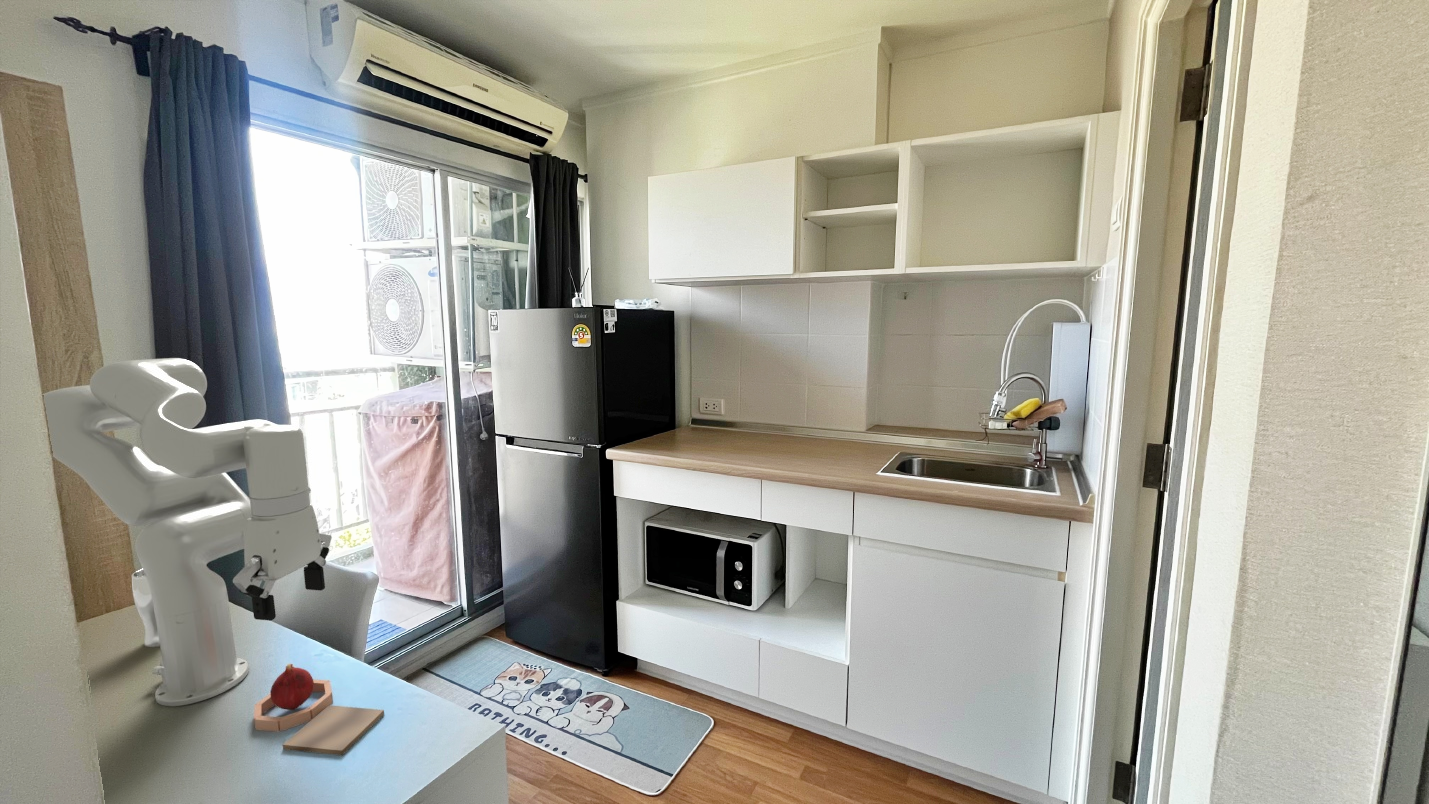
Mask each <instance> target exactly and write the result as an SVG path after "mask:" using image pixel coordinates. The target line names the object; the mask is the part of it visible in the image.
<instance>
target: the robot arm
mask: <svg viewBox="0 0 1429 804" xmlns="http://www.w3.org/2000/svg"><path fill="white" fill-rule="evenodd" d="M207 388H208V381H207V376H206V374H205V373H204V371H203V369H202V368H200V366H198V365H197V364H196V363H194V362H192V361H191V360H187V359H185V358H181V357H169V358H167V357H166V358H165V357H164V358H149V359H133V360H132V359H131V360H130V359H129V360H121V361H115V362H111V363H108V364H106V365H103V366H102V367H100V368H98V369H97V370H96V371H95V372H94V373H93V374H92V376H91V377H90V380H89V384H86V385H76V386H71V387H64V388H58V389H55V390H51V391H48V392H45V393H43V394H42V395H44V403H45V407H46V414H47V420H48V427H49V434H50V441H51V445H52V451H53V456H52V457H53V458H54V459H56V460H57V461H58V462H59V463H62V464H63V465H65V466H66V467H67V468H69V469H70V470H72V471H73V472H75V473H76V474H78V475H79V476H80V477H81V478H82V479H83V480H84V481H85V482H86V484H87V485H88V486H89V487H90V488H91V490H92V491H94V493H95V494H96V495H97V496H98V497H99V498H100V499H101V501H102V502H103V503H104V504H105V505H106V506H107V507H108V508H109V510H110V511H111V512H112V513H113V514H114V515H115V516H116V517H117V518H118V519H119V520H121V521H122V522H123V523H124V524H127V525H129V526H131V527H133V526H134V527H140V526H141V527H142V526H145V527H144V528H143V529H142V530H141V531H139V533H138V535H137V536H136V539H135V543H134V549H135V554H136V555H137V559H138V561H139V563H140V566H141V569H143V570H144V573H145V575H146V578H147V581H148V583H149V587H150V591H151V596H152V601H153V607H154V612H155V618H156V624H157V630H158V636H159V642H160V646H159V647H160V653H161V659H160V661H159V665H157V666H154V667H153V669H152V670H151V674H152V675H157V676H161V678H162V683H161V684H160V685H159V687H157V689H156V690H155V692H154V697H155V701H156V703H157V704H159V705H160V706H161V705H162V706H165V707H166V706H167V707H180V706H186V705H191V704H195V703H199V702H202V701H205V700H208V699H210V698H214V697H215V696H218V695H220V694H223V693H224V692H226V691H228V690H230V689H232V688H233V687H235V686H237V685H238V684H239V683H241V681H243V680H244V679H245V678H246V677H247V675H248V674H249V671H250V665H249V664H250V663H249V662H248V661H247V660H246V659H244V658H240V657H237V652H236V644H235V637H234V629H233V624H232V623H233V622H232V616H231V609H230V603H229V602H230V601H229V596H228V590H227V585H226V582H225V580H224V578H223V577H221V575H219V573H216V572H215V571H213V570H211V569H210V568H209V567H208V566H207V564H208V563H210V562H212V561H215V560H217V559H219V558H222V557H224V556H225V557H226V556H227V555H230V554H233V553H236V552H238V551H241V550H243V552H244V553H243V555H244V567H243V568H242V569H241V570H240V571H239V572H238V573H237V574H236V575H235V576H234V577H233V579H232V583H233V584H234V586H235V587H236V588H237V589H238V591H239V593H240V594H243V595H246V597H248V598H251V603H252V612H253V614H252V615H253V618H254V619H255V620H259V621H273V620H274V619H276V615H277V614H276V608H275V607H276V606H275V598H274V595H273V594H270V593H271V591H272V589H273V587H274V585H275V583H276V581H277V580H280V579H282V578H284V577H287V576H288V575H290V574H292V573H295V572H296V571H298V570H299V569H301V568H303V577H304V586H305V587H304V588H305V589H306V590H308V591H309V590H310V591H323V590H325V588H326V583H325V572H324V567H325V566H326V564H327V560H326V558H327V556H328V554H329V552H330V549H329V548H330V544H331V541H332V535H331V534H324V533H320V530H319V523H318V520H317V514H316V513H315V509H314V507H313V504H312V503H311V498H310V494H311V492H312V491H311V488H310V487H309V479H308V468H307V459H306V448H305V439H304V433H303V431H302V429H301V428H300V427H298V426H296V425H293V424H277V423H274V422H271V421H269V420H267V419H266V420H265V419H248V420H242V421H235V422H228V423H223V424H222V423H220V424H216V425H209V426H203V427H198V428H195V427H196V426H197V425H198V424H199V423H200V422H201V421H202V420H203V418H204V416H205V413H206V411H207V404H206V400H205V398H204V396H205V394H206V391H207ZM131 428H139V437H140V438H139V439H140V441H141V444H142V446H143V449H144V450H145V452H144V451H143V450H142V449H141V448H140V447H138V446H136V445H135V444H133V443H130V442H128V441H126V440H123V439H121V438H117V437H116V436H115V437H114V436H111V435H109V434H106V433H104V432H110V431H118V430H124V429H131ZM243 469H245V470H246V479H247V489H248V495H247V494H246V493H245V491H243V490H242V488H240V486H238V484H237V483H236V482H235V480H233V479H232V478H231V477H230V476H229V474H228V473H229V472H234V471H238V470H243ZM251 580H252V581H251ZM263 581H264V583H263V585H262V587H260V586H261V584H262V582H263Z"/></svg>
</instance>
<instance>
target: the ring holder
mask: <svg viewBox="0 0 1429 804" xmlns="http://www.w3.org/2000/svg"><path fill="white" fill-rule="evenodd" d="M313 681H314V686H313V690H312V693H320V694H321V693H323V695H322V696H321V697H320V698H318V699H317V700H316V701H315V702H314V703H312V704H311V705H310V706H308V707H307V708H304V709H302V710H299V711H296V712H293V713H290V714H287V715H284V716H279V717H278V716H268V715H264V714H265V713H266V712H267V711H268V710H270V709H271V708H273V707H274V706H276V705H275V704H274V703H273V702H272V699H271V693H269V694H267V695H266V696H265V697H264V698H262V699H261V700H259V701H258V702H257V703H256V704H255V705H254V706H253V707H254V712H253V723H254V728H255V730H257V731H266V732H277V733H278V732H283V731H286V730H288V729H292V728H293V727H297V726H300V725H303V724H307V723H309V722H310V721H311V720H312V719H313V718H315V717H316V716H317V715H318V714H319V713H321V712H322V711H323V710H324V709H325V708H327V707H328V706H329V705H333V703H334V699H333V698H334V697H333V691H332V685H331V681H330V680H327V679H316V678H313Z"/></svg>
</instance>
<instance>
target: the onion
mask: <svg viewBox="0 0 1429 804" xmlns="http://www.w3.org/2000/svg"><path fill="white" fill-rule="evenodd" d="M312 676H313V675H312V674H311V673H310V672H309V671H308V670H306V669H304V668H301V667H294V665H293V663H288V664H287V665H286V666H285V669H284V671H283V672H282V673H280V674H279V675H278V676H277V678H276V679H275V680H274V682H273V683H272V686H271V688H270V692H269V694H271V699H272V702H273V703H274V704H275V705H274V706H276V707H277V708H279V709H282V710H287V711H295V710H297V709H298V708H299V707H300V706H302V705H303V704H304V703H305V702H307V700H308V699H309V698H310V697H311V695H312V693H313V692H312V690H313V686H314V681H313V679H314V678H313V677H312Z"/></svg>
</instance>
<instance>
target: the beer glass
mask: <svg viewBox="0 0 1429 804" xmlns="http://www.w3.org/2000/svg"><path fill="white" fill-rule="evenodd" d="M131 583H132V584H131V587H132V596H133V601H134V604H135V607H136V609H137V612H138V614H139V616H140V618H141V621H142V623H143V628H144V630H145V631H144V633H145V635H144V647H147V648H159V647H160V642H159V636H158V630H157V624H156V618H155V612H154V607H153V601H152V596H151V591H150V587H149V583H148V581H147V578H146V575H145V573H144V570H143V568H141V569H139V570H136V571H135V572H133V573H132V574H131Z"/></svg>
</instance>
